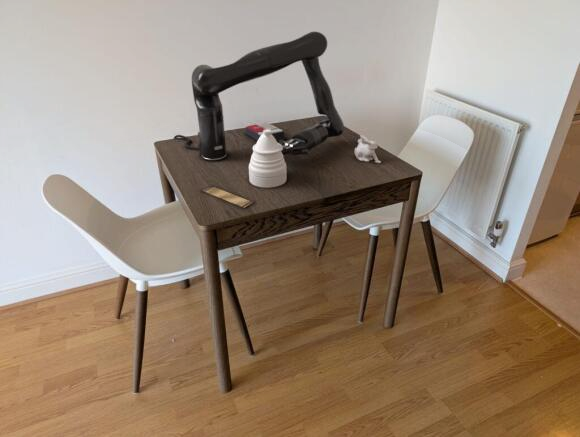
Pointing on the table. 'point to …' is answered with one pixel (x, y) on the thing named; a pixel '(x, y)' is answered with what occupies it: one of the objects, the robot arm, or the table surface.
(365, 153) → the white lumpy figure
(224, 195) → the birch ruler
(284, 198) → the table surface
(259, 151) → the honey pot
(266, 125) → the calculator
